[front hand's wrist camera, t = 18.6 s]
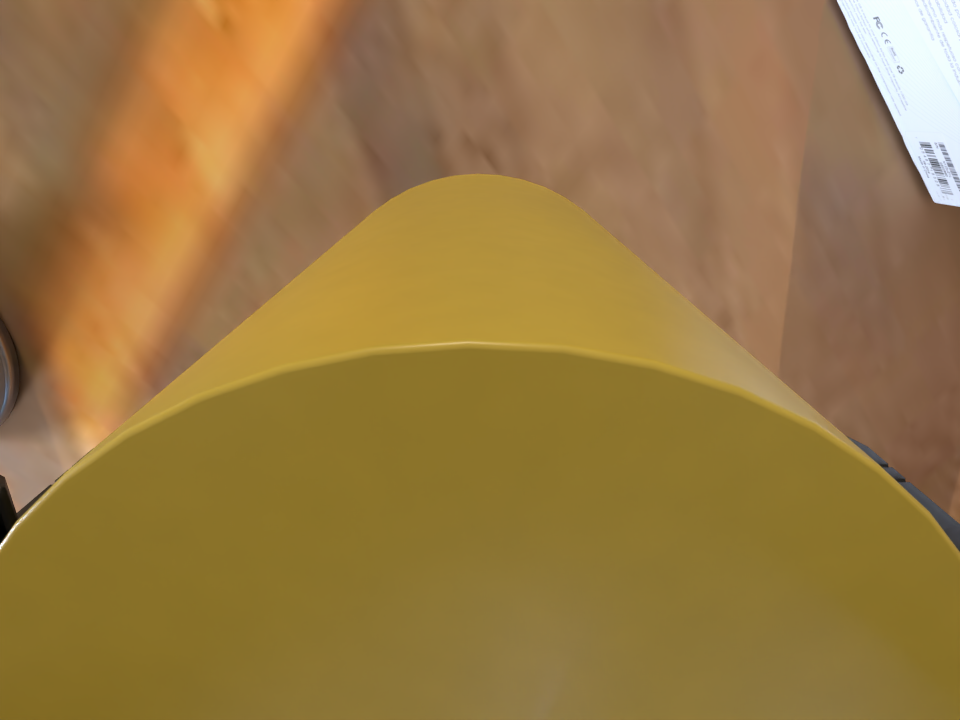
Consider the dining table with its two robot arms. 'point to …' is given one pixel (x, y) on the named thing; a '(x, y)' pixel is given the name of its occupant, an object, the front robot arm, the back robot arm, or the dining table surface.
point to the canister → (478, 509)
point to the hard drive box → (917, 79)
